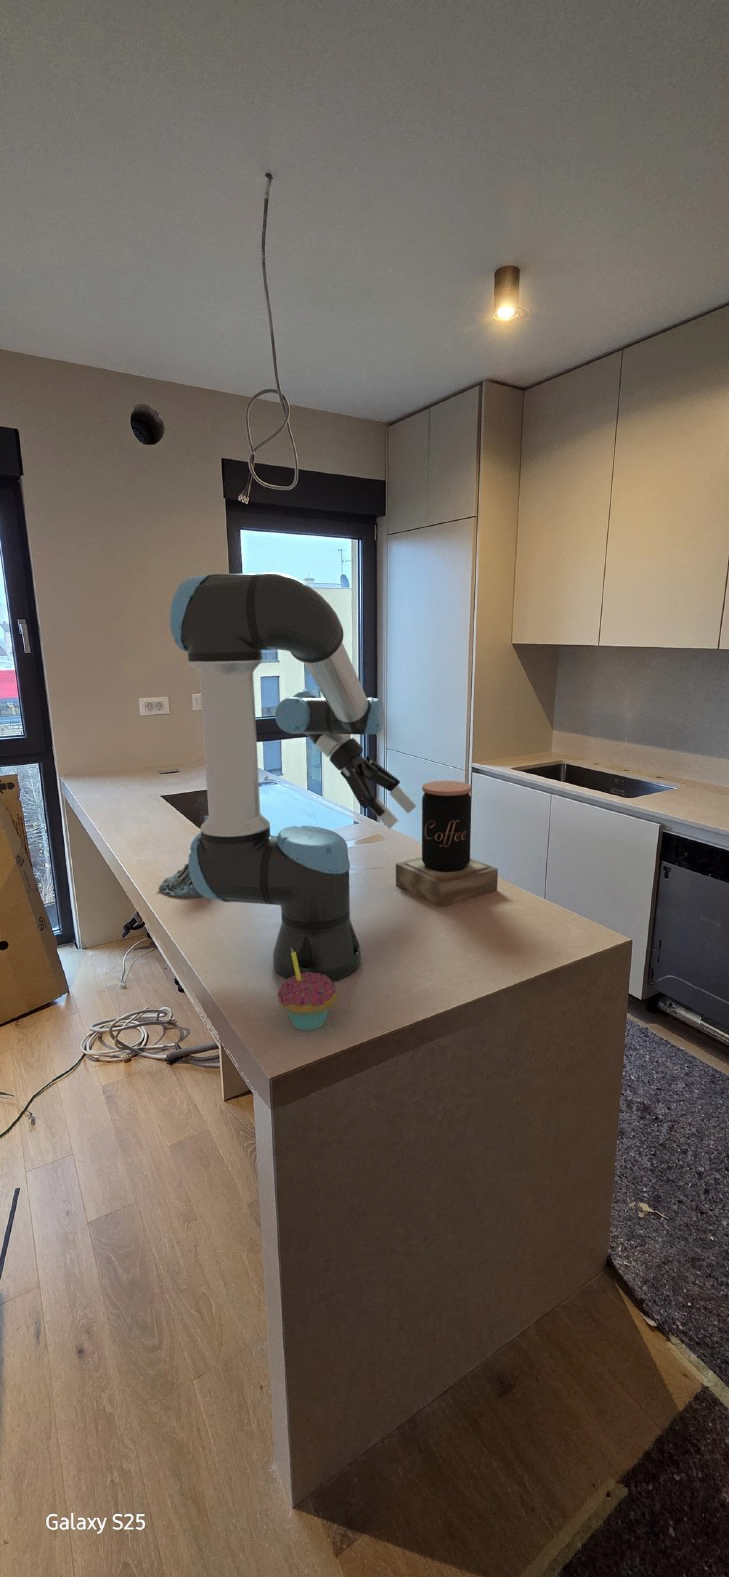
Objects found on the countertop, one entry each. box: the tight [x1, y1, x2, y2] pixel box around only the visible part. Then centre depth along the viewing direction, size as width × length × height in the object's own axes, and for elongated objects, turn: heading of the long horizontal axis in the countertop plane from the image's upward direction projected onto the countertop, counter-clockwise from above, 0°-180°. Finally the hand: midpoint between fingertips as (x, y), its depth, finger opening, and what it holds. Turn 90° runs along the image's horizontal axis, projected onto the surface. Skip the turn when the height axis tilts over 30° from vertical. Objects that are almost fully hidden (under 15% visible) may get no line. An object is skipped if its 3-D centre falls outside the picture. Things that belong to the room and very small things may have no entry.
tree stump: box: [158, 815, 209, 899], centre depth 153 cm, size 18×20×18 cm
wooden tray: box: [395, 856, 499, 908], centre depth 147 cm, size 16×16×5 cm
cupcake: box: [277, 948, 339, 1032], centre depth 95 cm, size 9×8×12 cm
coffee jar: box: [421, 780, 472, 872], centre depth 144 cm, size 11×11×18 cm
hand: (403, 817), depth 147 cm, fingers open, 13 cm apart
